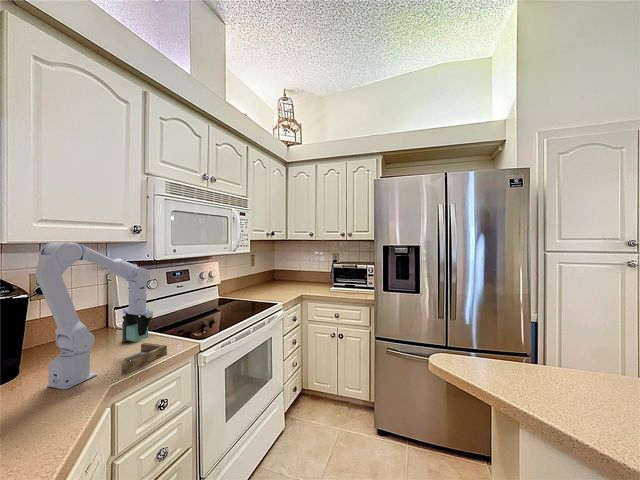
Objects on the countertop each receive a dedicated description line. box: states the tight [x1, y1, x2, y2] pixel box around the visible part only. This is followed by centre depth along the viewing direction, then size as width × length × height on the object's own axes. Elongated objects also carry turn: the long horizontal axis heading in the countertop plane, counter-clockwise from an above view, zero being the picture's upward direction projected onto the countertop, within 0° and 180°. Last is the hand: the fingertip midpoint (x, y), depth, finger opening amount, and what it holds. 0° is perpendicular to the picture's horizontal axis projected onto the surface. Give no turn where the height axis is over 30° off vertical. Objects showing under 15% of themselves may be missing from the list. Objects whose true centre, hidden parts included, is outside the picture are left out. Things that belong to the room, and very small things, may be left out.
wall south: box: [121, 347, 165, 375], centre depth 101 cm, size 16×2×3 cm, turn 165°
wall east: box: [140, 342, 168, 355], centre depth 111 cm, size 2×11×3 cm, turn 75°
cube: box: [126, 324, 149, 343], centre depth 107 cm, size 5×5×5 cm
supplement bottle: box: [121, 314, 134, 344], centre depth 124 cm, size 7×7×12 cm
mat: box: [124, 351, 147, 361], centre depth 106 cm, size 7×7×1 cm
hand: (137, 333), depth 107 cm, fingers closed on cube, 5 cm apart
